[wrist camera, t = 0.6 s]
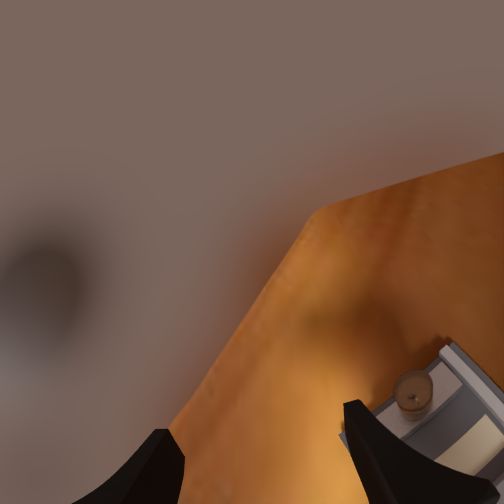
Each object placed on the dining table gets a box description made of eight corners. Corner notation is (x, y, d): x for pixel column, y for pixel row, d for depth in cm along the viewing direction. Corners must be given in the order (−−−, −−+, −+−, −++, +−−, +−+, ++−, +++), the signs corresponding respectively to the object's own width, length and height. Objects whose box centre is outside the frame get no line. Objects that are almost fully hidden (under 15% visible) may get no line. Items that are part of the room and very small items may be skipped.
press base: (552, 460, 9) (571, 454, 6) (427, 566, 9) (426, 581, 7) (452, 347, 24) (454, 327, 21) (342, 437, 24) (329, 429, 21)
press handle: (460, 392, 19) (469, 362, 15) (388, 451, 19) (376, 442, 15) (441, 371, 21) (442, 335, 17) (372, 427, 21) (354, 409, 17)
